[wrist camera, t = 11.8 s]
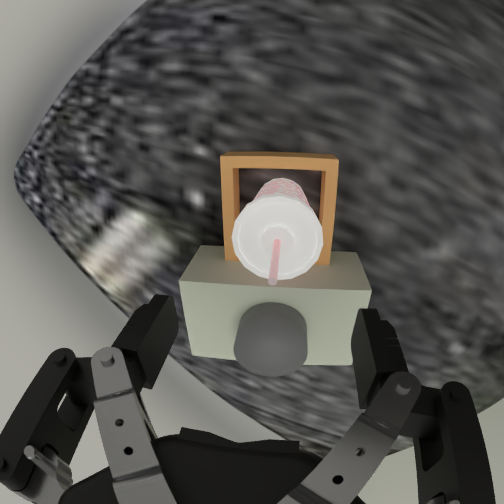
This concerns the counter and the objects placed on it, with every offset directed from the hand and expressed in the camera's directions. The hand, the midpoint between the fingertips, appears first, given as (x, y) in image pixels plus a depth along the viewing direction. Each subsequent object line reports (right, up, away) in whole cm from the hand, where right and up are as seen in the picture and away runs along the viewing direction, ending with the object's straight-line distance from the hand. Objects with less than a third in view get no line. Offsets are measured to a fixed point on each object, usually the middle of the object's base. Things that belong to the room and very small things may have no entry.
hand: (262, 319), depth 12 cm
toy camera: (+2, +3, +17) cm, 18 cm away
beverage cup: (+2, +8, +15) cm, 17 cm away
